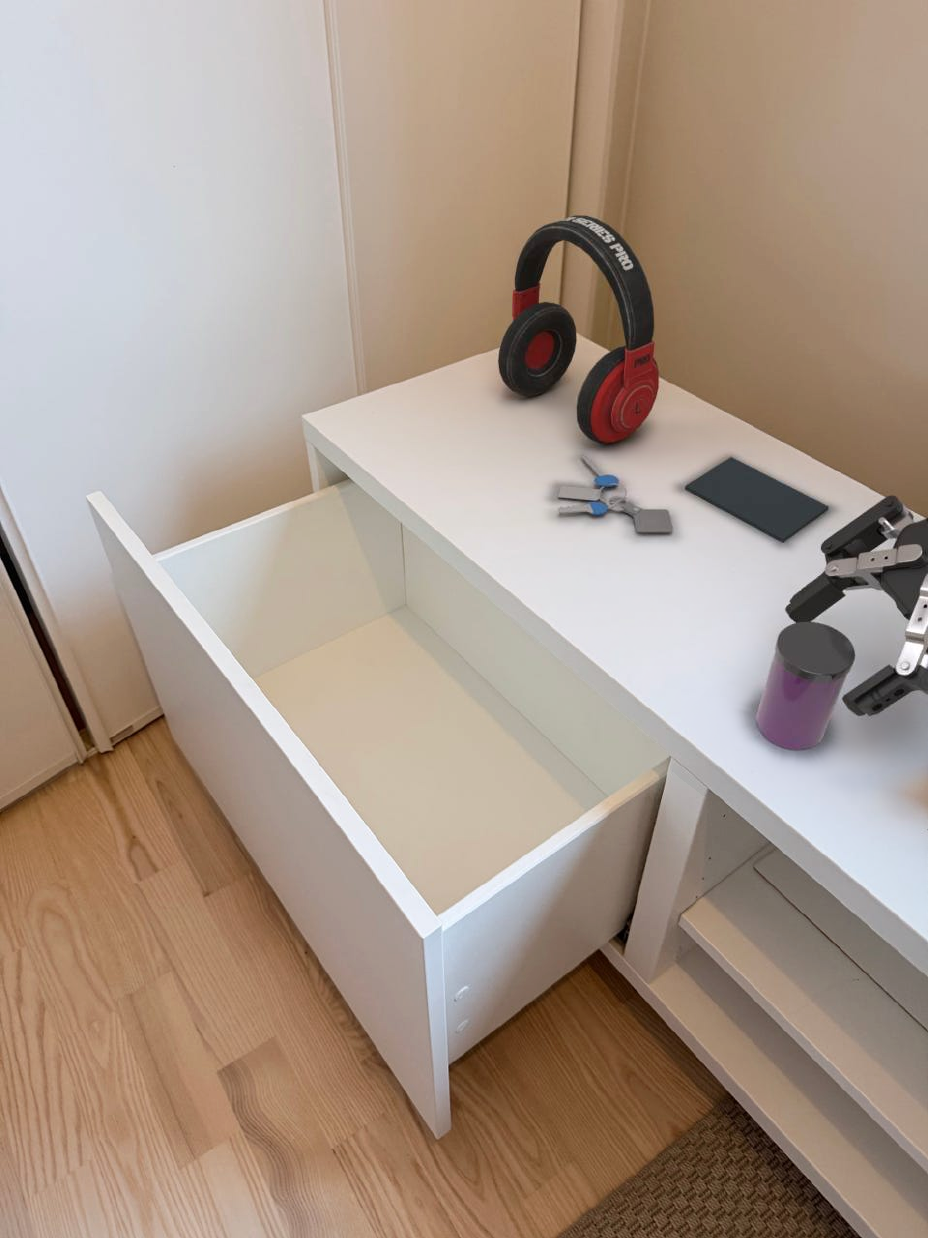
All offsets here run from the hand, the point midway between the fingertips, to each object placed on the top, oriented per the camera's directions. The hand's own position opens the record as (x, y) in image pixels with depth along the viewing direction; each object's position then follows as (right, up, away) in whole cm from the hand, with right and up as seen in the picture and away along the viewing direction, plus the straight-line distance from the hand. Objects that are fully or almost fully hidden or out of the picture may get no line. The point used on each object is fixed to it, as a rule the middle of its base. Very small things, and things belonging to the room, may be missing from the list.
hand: (820, 661), depth 64 cm
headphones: (-13, +24, +35) cm, 45 cm away
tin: (-1, -5, +4) cm, 6 cm away
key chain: (-12, +13, +23) cm, 29 cm away
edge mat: (+3, +14, +24) cm, 28 cm away
